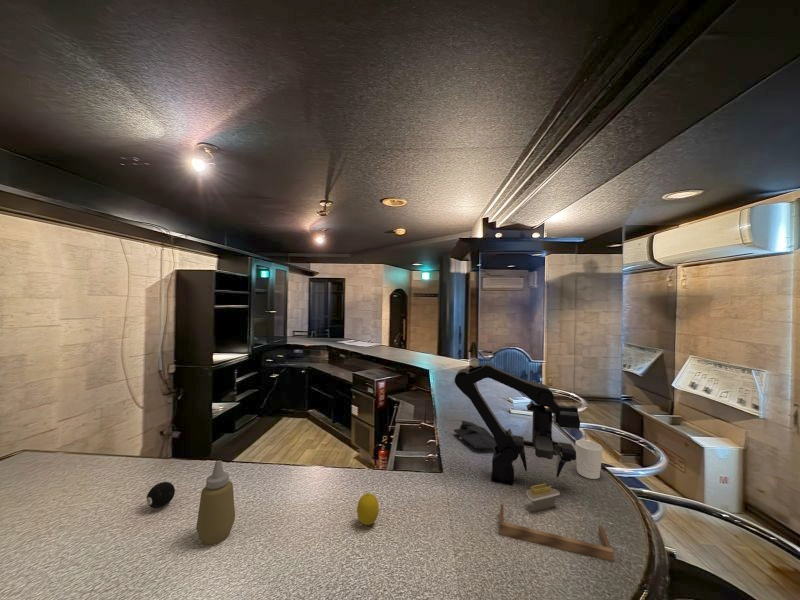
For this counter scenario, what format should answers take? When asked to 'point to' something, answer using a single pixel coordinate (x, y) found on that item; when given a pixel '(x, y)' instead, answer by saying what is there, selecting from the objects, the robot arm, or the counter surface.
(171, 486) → the black ovoid
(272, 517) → the counter surface
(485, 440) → the dark slate chunk
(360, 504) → the lemon
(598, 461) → the white cup
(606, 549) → the frame
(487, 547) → the counter surface
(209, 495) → the squeeze bottle
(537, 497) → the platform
